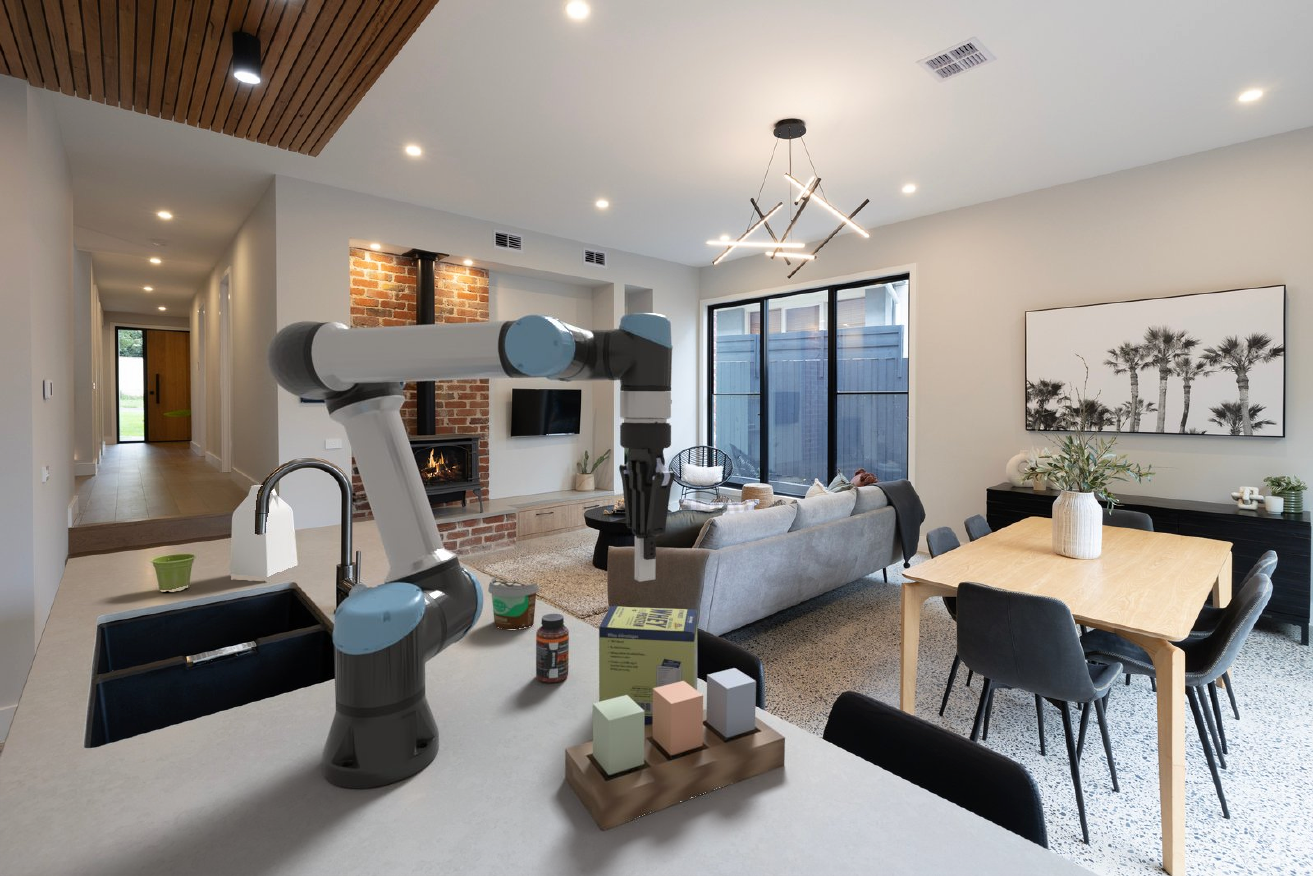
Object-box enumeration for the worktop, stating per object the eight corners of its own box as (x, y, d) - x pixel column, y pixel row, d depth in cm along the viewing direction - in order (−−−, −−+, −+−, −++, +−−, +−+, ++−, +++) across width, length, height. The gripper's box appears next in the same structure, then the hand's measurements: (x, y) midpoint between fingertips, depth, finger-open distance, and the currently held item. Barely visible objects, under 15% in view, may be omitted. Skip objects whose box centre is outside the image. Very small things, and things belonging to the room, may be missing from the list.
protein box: (608, 692, 109) (609, 604, 108) (697, 697, 107) (698, 608, 106) (596, 722, 98) (597, 626, 97) (695, 728, 97) (696, 631, 96)
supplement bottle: (562, 686, 111) (562, 623, 110) (530, 682, 112) (530, 621, 111) (573, 671, 117) (573, 612, 116) (543, 668, 118) (543, 610, 117)
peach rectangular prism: (670, 755, 82) (671, 703, 81) (652, 737, 86) (652, 688, 86) (702, 745, 84) (703, 695, 84) (683, 728, 88) (683, 680, 88)
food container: (476, 627, 139) (476, 583, 138) (493, 618, 145) (493, 576, 144) (523, 635, 134) (523, 590, 134) (539, 626, 140) (538, 582, 139)
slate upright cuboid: (726, 738, 86) (727, 688, 86) (706, 721, 90) (707, 674, 90) (755, 729, 89) (756, 681, 88) (734, 713, 93) (734, 667, 93)
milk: (229, 580, 174) (227, 488, 172) (262, 569, 185) (259, 482, 184) (267, 582, 172) (265, 489, 170) (298, 571, 183) (296, 483, 182)
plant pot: (189, 582, 171) (188, 551, 170) (202, 589, 165) (201, 556, 165) (146, 591, 163) (145, 558, 163) (159, 597, 158) (157, 564, 157)
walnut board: (601, 831, 73) (602, 798, 73) (565, 777, 84) (565, 748, 83) (784, 765, 87) (784, 737, 87) (733, 725, 97) (733, 701, 97)
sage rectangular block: (608, 775, 77) (609, 720, 77) (592, 755, 82) (592, 703, 81) (644, 764, 80) (644, 711, 79) (626, 745, 84) (627, 695, 84)
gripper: (691, 422, 87) (689, 587, 89) (646, 419, 99) (646, 565, 100) (644, 422, 84) (643, 594, 85) (603, 420, 95) (603, 571, 96)
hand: (644, 579), depth 92 cm, fingers closed
